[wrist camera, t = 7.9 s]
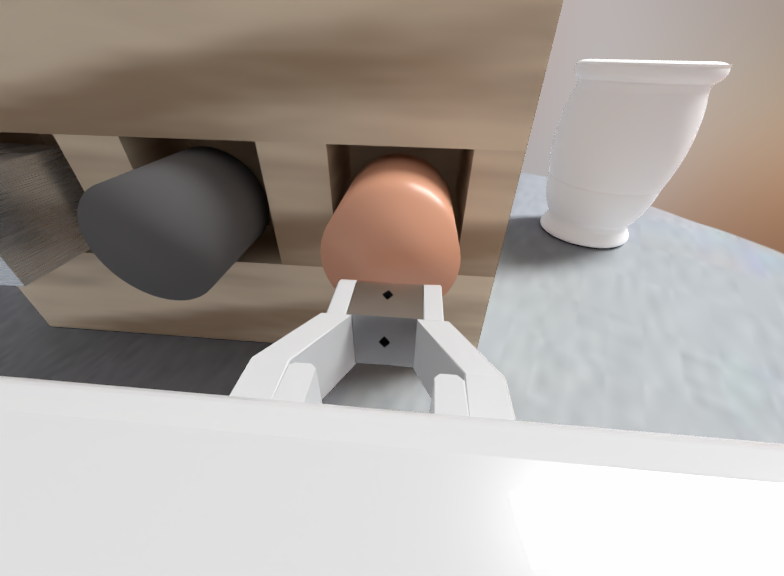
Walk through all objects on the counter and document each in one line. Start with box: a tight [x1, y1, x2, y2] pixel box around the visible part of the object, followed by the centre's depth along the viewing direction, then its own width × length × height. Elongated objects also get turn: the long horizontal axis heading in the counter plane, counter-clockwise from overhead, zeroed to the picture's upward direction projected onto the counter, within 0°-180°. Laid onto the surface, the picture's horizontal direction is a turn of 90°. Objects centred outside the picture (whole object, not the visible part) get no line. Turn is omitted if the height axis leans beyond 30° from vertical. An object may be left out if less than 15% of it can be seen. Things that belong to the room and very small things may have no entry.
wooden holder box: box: [0, 0, 563, 349], centre depth 19 cm, size 10×28×18 cm, turn 85°
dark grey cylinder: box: [77, 146, 269, 300], centre depth 14 cm, size 5×5×5 cm
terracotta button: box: [320, 154, 461, 297], centre depth 13 cm, size 5×5×5 cm
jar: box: [540, 59, 733, 248], centre depth 30 cm, size 11×10×15 cm
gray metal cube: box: [0, 143, 90, 287], centre depth 15 cm, size 5×5×5 cm
